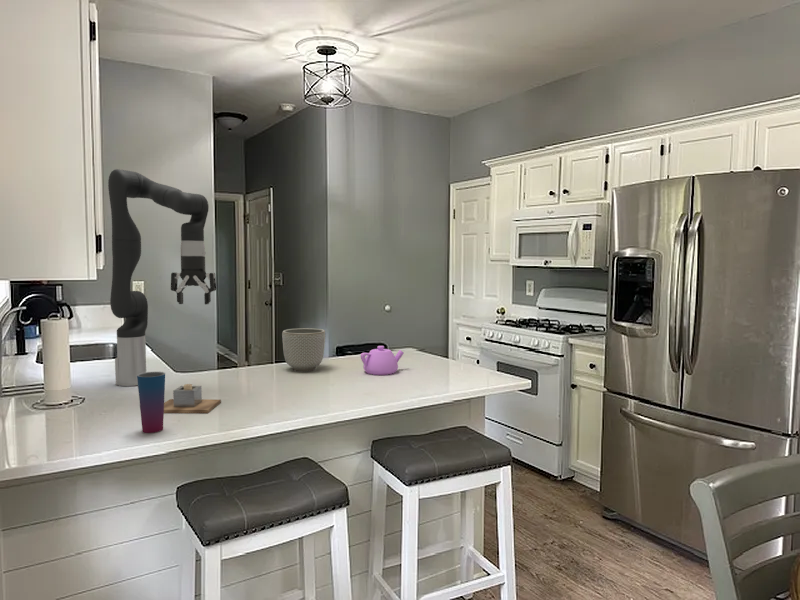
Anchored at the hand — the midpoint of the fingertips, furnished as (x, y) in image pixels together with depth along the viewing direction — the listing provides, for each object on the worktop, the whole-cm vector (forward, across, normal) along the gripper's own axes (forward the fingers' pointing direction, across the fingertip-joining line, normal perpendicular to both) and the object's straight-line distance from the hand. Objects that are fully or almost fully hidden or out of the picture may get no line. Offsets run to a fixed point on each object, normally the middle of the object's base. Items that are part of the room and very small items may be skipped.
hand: (194, 304), depth 184 cm
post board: (+30, +4, -17) cm, 35 cm away
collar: (+29, +4, -17) cm, 34 cm away
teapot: (+30, +61, +38) cm, 78 cm away
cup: (+30, +3, -39) cm, 49 cm away
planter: (+30, +29, +41) cm, 59 cm away
